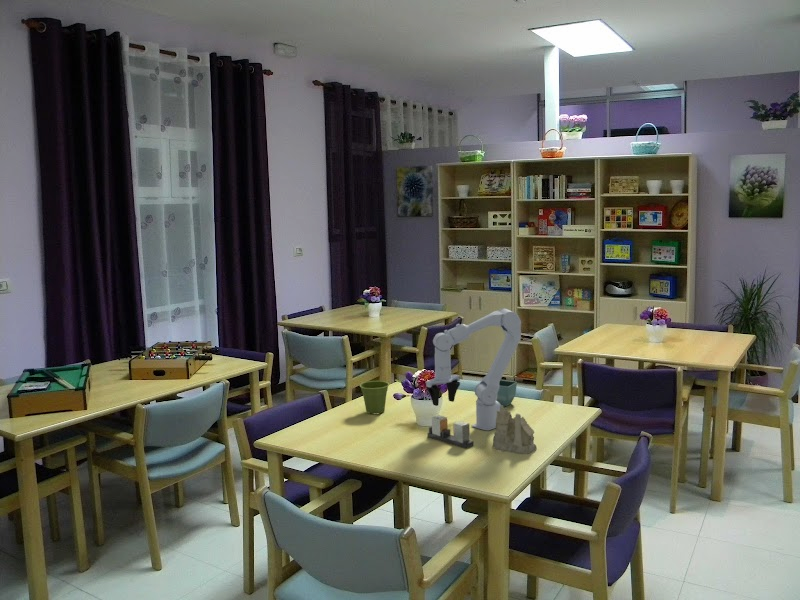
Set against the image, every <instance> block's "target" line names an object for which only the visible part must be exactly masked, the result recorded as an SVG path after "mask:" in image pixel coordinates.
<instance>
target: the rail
mask: <svg viewBox="0 0 800 600" xmlns="http://www.w3.org/2000/svg"><path fill="white" fill-rule="evenodd" d="M470 433H471V432H470V422H465V421H461V420H460V421H457V422H454V423H453V434H451V428H448V429H447V430H444V431H442V436H438V435H434V434H432V426H429V427H428V432H427V438H430V439H432V440H433V439H434V440H436V441H440V442H442V443H443V442H444V443H445V444H450V445H452V446H456V447H460V448H463V449H468V448H471V447H473V446H474V440H471V439H470V435H471V434H470Z"/></svg>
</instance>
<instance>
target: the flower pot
mask: <svg viewBox="0 0 800 600" xmlns="http://www.w3.org/2000/svg"><path fill="white" fill-rule="evenodd" d="M517 384H518V382H517V381H513V380H502V379H501V380H500V382H499V390H498V393H497V400H496V401H498V402H499V403H500V404H501V405H503V407H507V406H509V405H511V404H512V403H513V400H514V399H515V397H516V392H517V386H518V385H517Z"/></svg>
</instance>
